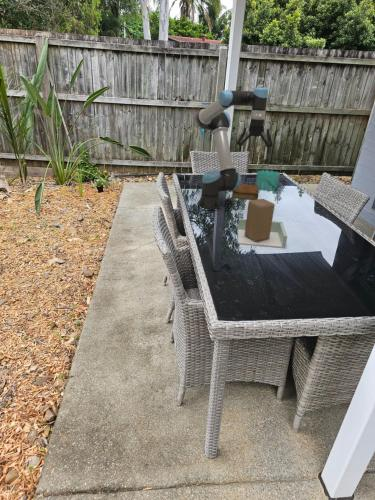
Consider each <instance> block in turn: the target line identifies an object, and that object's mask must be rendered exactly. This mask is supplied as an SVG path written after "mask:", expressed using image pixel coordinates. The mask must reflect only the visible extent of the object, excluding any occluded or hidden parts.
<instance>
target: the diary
mask: <svg viewBox="0 0 375 500" xmlns="http://www.w3.org/2000/svg"><path fill="white" fill-rule="evenodd" d="M232 195H233V197H232V196H231V199H234V198H238V199H237V200H246V201H247V200H248V201H250V200H257V199H259V189H258V186H257V185H256V184H246V183H245V184H243V183H241V184H240V186H239V188H238V189H236V190H232Z"/></svg>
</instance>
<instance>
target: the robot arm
mask: <svg viewBox="0 0 375 500" xmlns="http://www.w3.org/2000/svg"><path fill="white" fill-rule="evenodd" d="M268 97H269V89H268V87H259V86H258V87H257V86H256V87H255V88H254V89H253V91H252V90H232V89H231V90H229V89H226V90H225V89H224V90H221V91H220V92H219V94H218V98H217V99H216V100H214V101H213V102H212V103H211V104H209V105H208V106H207V107H206V108H203V109H200V110H199V111H198V112H197V114H196V118H195V122H196V124H197V126H198V127H199V128H200V129H202V130H210V133H211V135H212V136H214V141H215V147H216V153H217V158H218V163H219V168H220V170H218V171H217V170H215V171H213V170H211V171H206V172H204V173H203V175H202V178H201V179H202V180H201V196H200V198H199V201H198V205H199V207H201V208H204V209H209V210H215V209H219V208H220V207H221V206H222V204H221V201H220V192H228V191H229V192H230V191H231V192H233V190H236V189H238V188H239V186H240V184H242V175H241V173H240V172H238V171H237V169H236V167H234V166H233V158H232V154H231V149H230V147H231V146H230V143H229V138H228V131H229V129H230V127H231V121H232V119H231V117H230V114H229V113H228V112H227V110H228V109H229V108H231V107H233V106H235V107H237V106H239V107H240V106H242V107H244V106H245V107H251V115H250V118H251V119H250V122H249V127H246V126H244V127H243V131H242V133H241V135H240V137H239V138H238V139H237V141H236V145H239V148H238V151H239V152H240V159H241V158H243V150H244V144H245V142H247V141H248V139H250V138H251V137H258V138H259V137H260V138H261V140H262V141H263V142H264V144H265V145H266V146H265V148H264V155H263V160H266V159H267V154H269V151H270V147H273V146H274V144H273V141H272V138H271V135H270V129H269V127H268V128H264V126H265V119H266V111H267V106H268V105H267V104H268ZM247 132H249V134H247V136H246V137H245V135H246V133H247ZM263 133H265V134H266V136H267V139H268V141H267V140H266V138H265V136H264V135H263ZM244 137H245V138H244ZM243 138H244V139H243ZM268 142H269V143H268ZM198 205H197V206H198ZM199 207H198V208H199ZM220 209H221V208H220ZM220 209H219V210H220ZM215 211H216V210H215Z"/></svg>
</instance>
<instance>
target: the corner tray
mask: <svg viewBox="0 0 375 500" xmlns="http://www.w3.org/2000/svg"><path fill="white" fill-rule="evenodd" d="M246 219H247V218H238V223H237V224H238V226H237V244H238V245H244V246H252V247H253V246H254V247H265V248H275V249H277V248H278V249H286V246H287V241H288V240H287V238H288V235H287V232H286V229H285V225H284V222H283V221H279V220H278V221H276V220H274V221H273V220H272V225H271V231H270V237H269V239H265V240H260V241H253V240H252V239H250V238H249V237H247V236H246V235H245V227H246Z"/></svg>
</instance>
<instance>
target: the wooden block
mask: <svg viewBox="0 0 375 500" xmlns="http://www.w3.org/2000/svg"><path fill="white" fill-rule="evenodd" d="M274 212H275V203H273V202H272V201H269V200H267V199H265V198H258V199H257V200H248V205H247V212H246V218H245V219H246V227H245V235H246V236H247V237H249V238H250V239H252V240H253V241H260V240H265V239H269V237H270V231H271V225H272V221H273V218H274Z"/></svg>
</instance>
